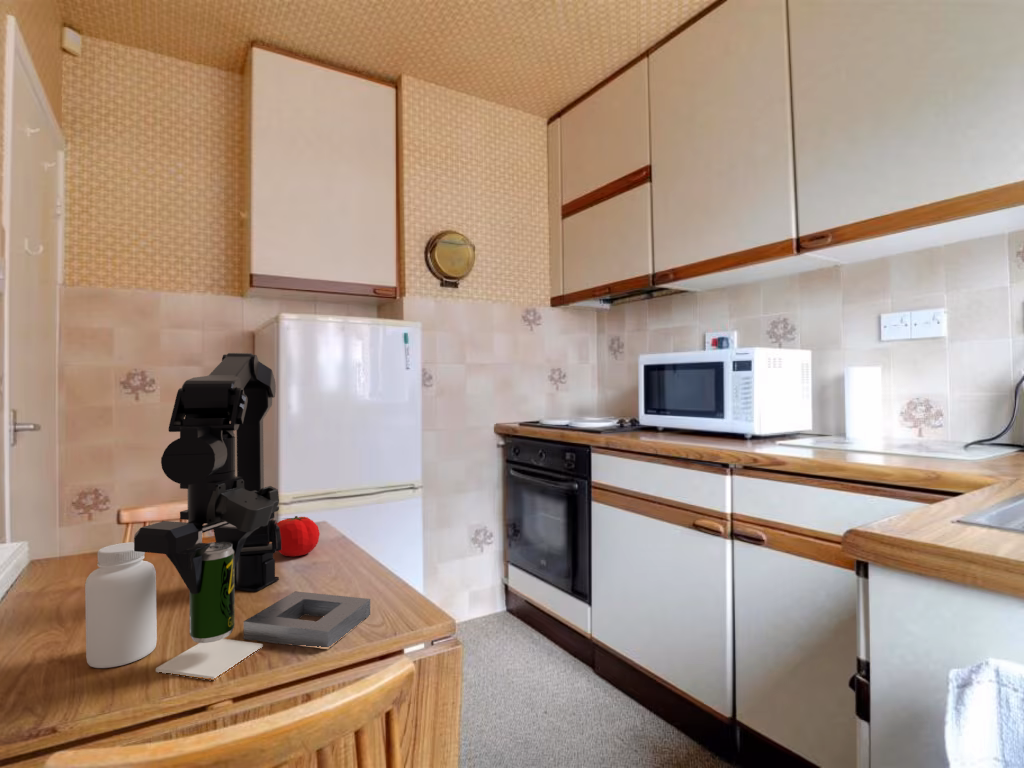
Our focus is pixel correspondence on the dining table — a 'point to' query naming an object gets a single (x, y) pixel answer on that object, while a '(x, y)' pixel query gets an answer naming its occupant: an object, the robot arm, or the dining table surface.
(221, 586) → the green silver-topped cylinder
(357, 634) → the dining table surface
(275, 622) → the frame
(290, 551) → the tomato
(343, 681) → the dining table surface
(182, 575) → the robot arm
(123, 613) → the pill bottle
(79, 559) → the dining table surface
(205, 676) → the tile
